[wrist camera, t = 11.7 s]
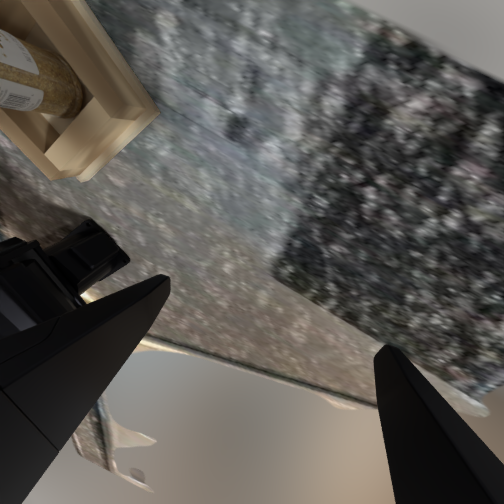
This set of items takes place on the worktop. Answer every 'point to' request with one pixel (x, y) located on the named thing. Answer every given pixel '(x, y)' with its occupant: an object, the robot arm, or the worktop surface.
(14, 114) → the caddy
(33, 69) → the sprinkles bottle
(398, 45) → the worktop surface
